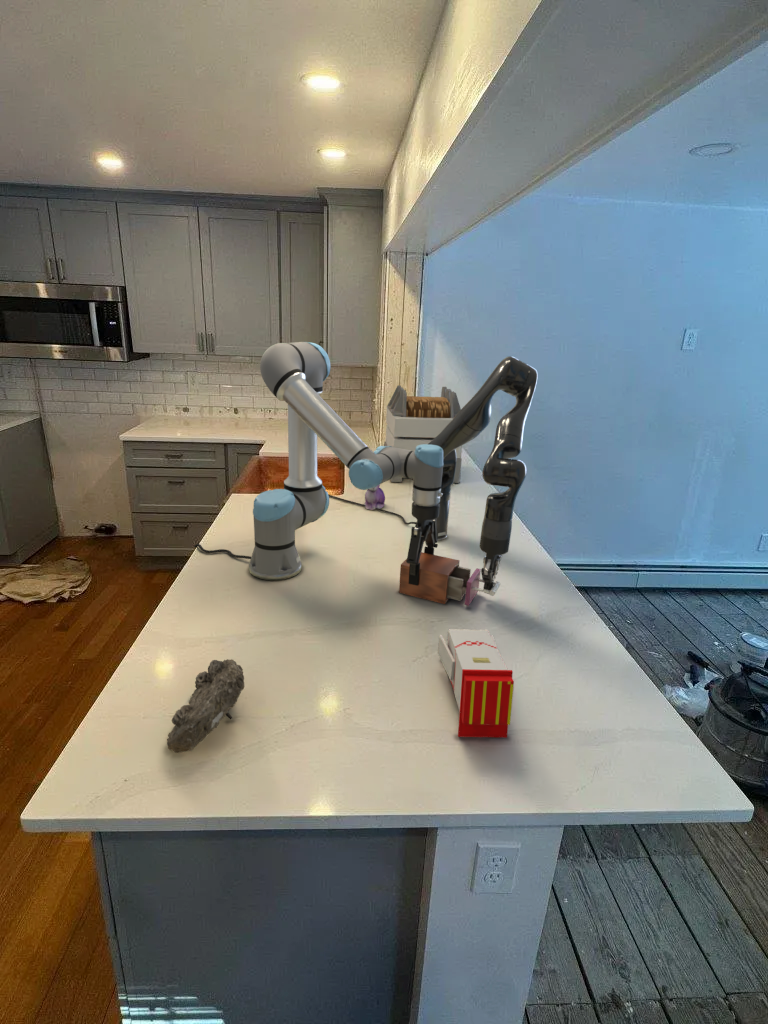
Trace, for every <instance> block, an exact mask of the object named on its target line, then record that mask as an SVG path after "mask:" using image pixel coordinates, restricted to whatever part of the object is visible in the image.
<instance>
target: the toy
mask: <svg viewBox="0 0 768 1024" xmlns="http://www.w3.org/2000/svg"><path fill="white" fill-rule="evenodd" d="M446 640H447V643H446V641H445V639H444V636H443V635H442V634H439V637H438V646H437V656H438V657H439V659H440V661H441V663H442V666H443V668H444V670H445V672H446V674H447V677H448V679H449V681H450V684H451V687H452V690H453V693H454V697H455V701H456V705H457V708H458V711H459V714H458V715H459V716H458V730H457V731H458V732H457V737H458V738H508V731H509V726H510V725H511V717H512V707H513V697H514V696H513V695H514V684H515V680H514V679H513V673H514V671H513V670H512V669H508V667H507V665H506V662H505V661H504V659H503V658H502V655H501V653H500V651H499V649H498V647H497V643H496V639H495V637H494V635H493V634H491V632H490V631H489V629H467V628H466V629H465V628H463V629H461V628H460V629H459V628H448V630H447V639H446Z"/></svg>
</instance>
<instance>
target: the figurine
mask: <svg viewBox="0 0 768 1024" xmlns="http://www.w3.org/2000/svg"><path fill="white" fill-rule="evenodd" d="M380 486H381V484H380V485H378V486H376V487H374V488H370V489H367V490H365V491H366V492H365V494H364V503H363V504H364V505H366V507H365V506H364V507H365V509H366V510H372V511H373V510H376V509H375V508H379V509H382V508H384V507H385V502H386V495H385V493H384V490H383V489H382V488H381V487H380Z"/></svg>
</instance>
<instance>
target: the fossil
mask: <svg viewBox="0 0 768 1024" xmlns="http://www.w3.org/2000/svg"><path fill="white" fill-rule="evenodd" d="M243 670H244V669H243V667H242V665H240V664H237V662H236V661H235V660H234V659H232V658H231V659H227V658H226V659H224V660H223V661H222V660H217V659H212V660H211V661H210V663H209V665H208V666H207V671H201V672H199V673H198V674H197V675H196V676H195V680H194V684H195V685H194V687H195V689H194V690H193V693H192V694H191V697H190V698H189V700H188V704H184V705H182V706H181V707H180V709H177V710H176V711H175V713H174V715H173V716H172V718H171V723H172V724H173V727H172V730H171V731H170V732H168V734H167V738H166V741H167V742H166V745H167V749H168V750H169V751H173V752H174V753H176V754H178V753H182V752H188V751H189V752H192V751H193V750H195V748H196V747H197V746H199V744H200V743H201V742H203V741H204V740H205V739H206V738H207V737H208V736H209V735H210V734H211V733H212V732H214V730H215V729H217V727H218V726H219V724H220V722H221V721H222V720H223V719H224V718H225V716H226V717H227V719H229V720H233V717H232V715H230V714H229V710H230V709H231V708H234V706H235V704H236V703H237V702H238V699H239V697H240V695H241V693H242V691H243V690H245V689H244V688H245V675H244V671H243Z"/></svg>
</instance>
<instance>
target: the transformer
mask: <svg viewBox="0 0 768 1024" xmlns="http://www.w3.org/2000/svg"><path fill="white" fill-rule="evenodd" d="M440 393H441V394H440V396H415V395H414V396H413V395H412V396H411V395H407V394H408V393H407V390H406V389H404V388H403V387H402V385H399V384H398V385H397V386H396V388H395V390H394V392H393V394H392V395H391V398H390V400H389V402H388V404H387V405H386V413H385V414H386V415H385V423H386V428H385V438H384V442H383V446H392V447H394V448H400V449H406V450H411V451H415V449H416V447H417V446H418V445H421V444H428V443H429V442H431V441H432V440H433V439H434V438H435V437H436V436H438V435H439V434H440V433H441V432H442V431H443V429H444V428H445V427H446V426H447V425H448V424H449V423H450V422H451V421H452V420H453V418H454V417H455V416H456V415H457V414H458V412H459V411H460V410H461V409H462V408H461V405H460V402H459V398H458V395H457V392H455V391H453V390H452V389H451V388H447V386H442V387H441V392H440ZM455 450H456V457H457V459H456V468H455V475H454V481H453V484H455V483H456V484H459V483H461V472H462V461H463V460H462V453H463V445H462V446H460V447H458V448H456V449H455ZM389 481H390V482H391V483H402V482H403V477H398V476H396V477H394V478H392V479H390V480H389Z"/></svg>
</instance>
